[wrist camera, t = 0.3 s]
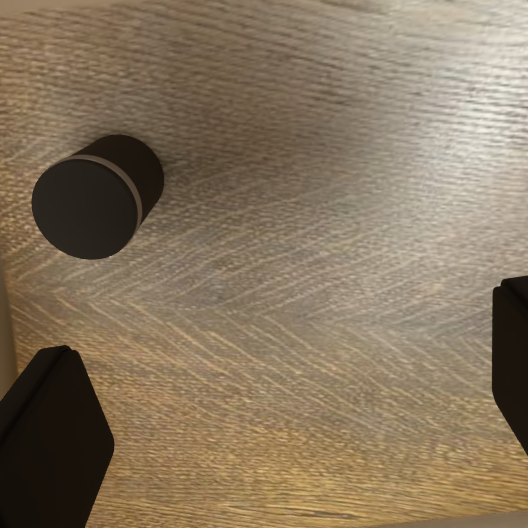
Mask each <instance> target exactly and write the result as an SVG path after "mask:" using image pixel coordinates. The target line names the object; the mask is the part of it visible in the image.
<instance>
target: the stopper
mask: <svg viewBox="0 0 528 528" xmlns="http://www.w3.org/2000/svg"><path fill="white" fill-rule="evenodd" d="M163 186H164V175H163V170H162V167H161V164H160V162H159V160H158V158H157V157H156V155H155V154H154V153H153V151H152V150H151V149H150V148H149V147H148V146H146V145H145V144H144V143H142V142H141V141H139V140H137V139H135V138H132V137H129V136H125V135H110V136H106V137H103V138H101V139H99V140H97V141H95V142H93V143H92V144H90V145H88V146H87V147H85V148H83V149H81V150H80V151H78V152H76V153H75V154H73V155H71V156H69V157H67V158H64V159H62V160H60V161H58V162H56V163H55V164H53V165H52V166H50V167H49V168H48V169H47V170H46V171H45V172H44V173H43V174H42V175H41V176H40V178H39V179H38V181H37V182H36V184H35V187H34V190H33V194H32V212H33V216H34V219H35V222H36V224H37V226H38V228H39V230H40V231H41V233H42V234H43V235H44V237H45V238H46V239H47V240H48V241H49V242H50V243H51V244H52V245H53V246H55V247H56V248H57V249H59V250H60V251H62V252H64V253H66V254H68V255H71V256H73V257H77V258H81V259H90V260H94V259H102V258H106V257H109V256H112V255H114V254H116V253H117V252H119V251H120V250H121V249H123V248H124V247H125V246H126V245H127V244H128V243H129V242H130V241H131V240H132V238H133V237H134V235H135V234H136V232H137V230H138V229H139V226H140V225H141V224H142V222H143V221H144V219H145V218H146V217H147V215H148V214H149V212H150V211H151V210H152V208H153V207H154V205H155V204H156V203H157V201H158V200H159V198H160V196H161V194H162V191H163Z"/></svg>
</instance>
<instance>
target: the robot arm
mask: <svg viewBox="0 0 528 528" xmlns="http://www.w3.org/2000/svg"><path fill="white" fill-rule="evenodd" d="M492 392H493V396H494V399H495V402H496V404H497V406H498V408H499V409H500V411H501V413H502V414H503V416H504V417H505V419H506V421H507V422H508V424H509V426H510V427H511V429H512V431H513V432H514V434H515V436H516V437H517V439H518V441H519V442H520V444H521V446H522V447H523V449H524V450H525V452H526V454H527V455H528V275H527V276H521V277H514V278H508V279H503V280H502V282H501V286H499V287H495V288H494V289H493V309H492ZM113 452H114V438H113V435H112V433H111V430H110V428H109V425H108V423H107V420H106V418H105V415H104V413H103V411H102V408H101V406H100V403H99V401H98V398H97V396H96V393H95V391H94V388H93V386H92V384H91V381H90V379H89V376H88V374H87V371H86V369H85V366H84V364H83V361H82V359H81V357H80V355H79V353H78V352H77V351H76V350H72V349H71V348H70V347H69V346H67V345H62V346H56V347H49V348H43V349H40V350H39V351H38V352H37V354H36V355H35V356H34V358H33V359H32V360H31V361H30V363H29V364H28V365H27V367H26V368H25V369H24V371H23V372H22V373H21V375H20V376H19V377H18V379H17V380H16V381H15V383H14V384H13V386H12V387H11V388H10V390H9V391H8V392H7V393H6V395H5V396H4V398H3V399H2V400H1V401H0V528H85V525H86V523H87V520H88V518H89V515H90V512H91V510H92V507H93V505H94V502H95V499H96V497H97V494H98V492H99V489H100V487H101V484H102V481H103V479H104V476H105V474H106V471H107V468H108V466H109V463H110V461H111V458H112V456H113ZM354 528H528V510H526V511H515V512H504V513H492V514H481V515H471V516H462V517H452V518H442V519H432V520H422V521H413V522H403V523H393V524H383V525H373V526H364V527H354Z"/></svg>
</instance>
